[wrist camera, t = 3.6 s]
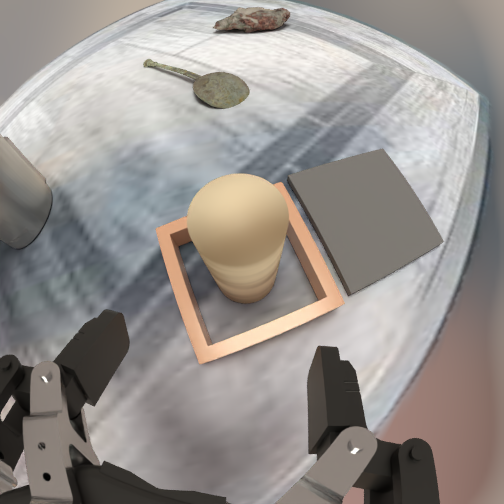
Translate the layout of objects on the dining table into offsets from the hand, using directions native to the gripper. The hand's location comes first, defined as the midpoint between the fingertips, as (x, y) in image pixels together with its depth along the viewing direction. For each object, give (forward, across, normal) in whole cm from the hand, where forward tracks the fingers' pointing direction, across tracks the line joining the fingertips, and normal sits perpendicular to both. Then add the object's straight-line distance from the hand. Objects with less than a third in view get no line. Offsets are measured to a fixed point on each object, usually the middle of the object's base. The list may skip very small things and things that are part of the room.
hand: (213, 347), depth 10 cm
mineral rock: (+46, +6, -31) cm, 56 cm away
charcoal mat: (+17, -11, -2) cm, 20 cm away
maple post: (+12, 0, +3) cm, 12 cm away
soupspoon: (+31, +13, -16) cm, 37 cm away
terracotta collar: (+12, 0, +3) cm, 12 cm away
